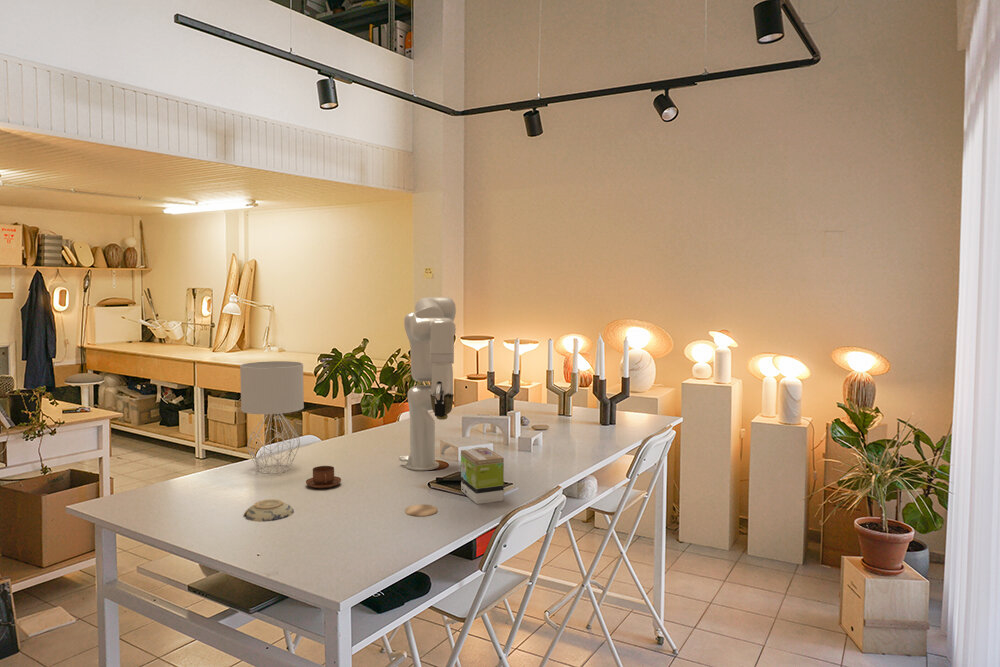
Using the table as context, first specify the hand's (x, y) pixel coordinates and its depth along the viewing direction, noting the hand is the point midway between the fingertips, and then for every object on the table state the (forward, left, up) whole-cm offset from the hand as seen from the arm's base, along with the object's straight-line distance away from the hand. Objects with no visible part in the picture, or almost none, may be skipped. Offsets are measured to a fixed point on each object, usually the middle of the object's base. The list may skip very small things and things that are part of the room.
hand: (441, 413), depth 225 cm
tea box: (+12, +8, -29) cm, 33 cm away
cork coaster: (-5, -9, -29) cm, 31 cm away
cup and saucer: (-44, +15, -30) cm, 55 cm away
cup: (0, 0, -2) cm, 2 cm away
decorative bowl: (-51, -16, -30) cm, 61 cm away
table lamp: (-70, +33, -29) cm, 83 cm away
